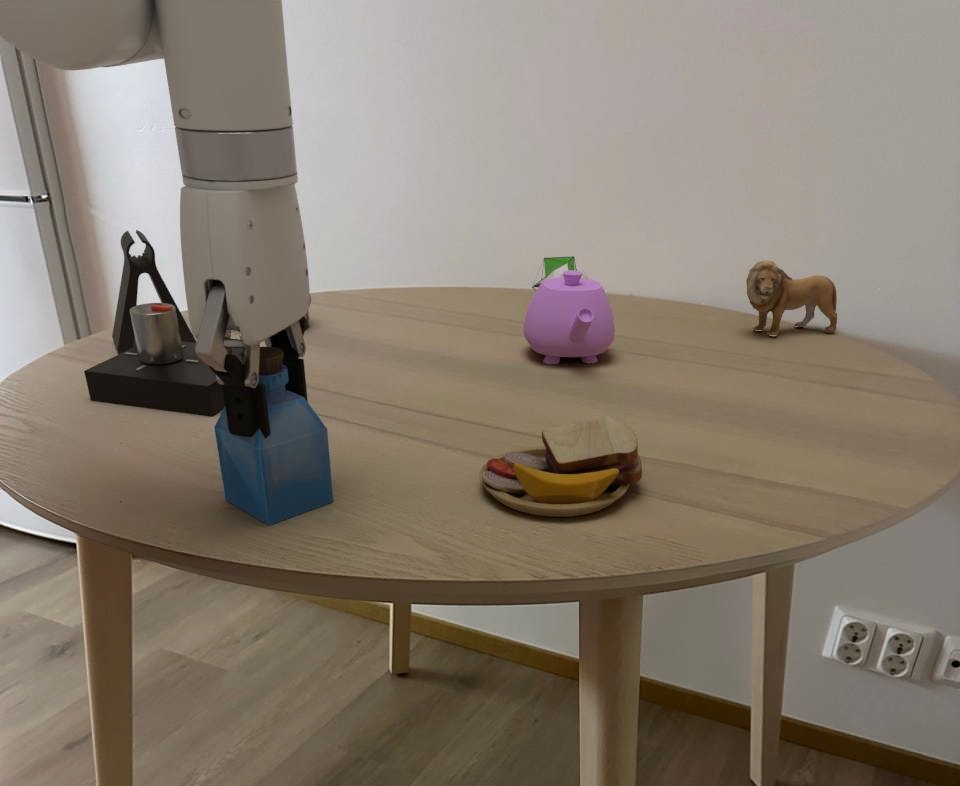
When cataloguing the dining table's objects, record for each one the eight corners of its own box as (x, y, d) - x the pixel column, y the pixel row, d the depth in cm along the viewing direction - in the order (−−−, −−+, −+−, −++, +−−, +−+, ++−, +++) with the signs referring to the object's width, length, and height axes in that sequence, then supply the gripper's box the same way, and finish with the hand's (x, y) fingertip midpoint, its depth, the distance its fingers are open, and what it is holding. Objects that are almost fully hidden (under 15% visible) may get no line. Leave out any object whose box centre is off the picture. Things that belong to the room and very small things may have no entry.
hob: (90, 400, 94) (83, 369, 92) (157, 365, 103) (152, 336, 101) (212, 416, 90) (207, 384, 89) (270, 378, 100) (267, 349, 98)
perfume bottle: (289, 478, 79) (273, 335, 72) (333, 501, 75) (320, 353, 68) (225, 500, 75) (202, 352, 68) (268, 525, 71) (249, 371, 65)
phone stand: (189, 332, 114) (172, 227, 107) (197, 346, 109) (180, 237, 102) (112, 340, 111) (90, 232, 104) (117, 354, 106) (94, 242, 99)
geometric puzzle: (524, 283, 128) (536, 241, 120) (571, 281, 129) (586, 239, 122) (535, 326, 125) (548, 286, 118) (582, 323, 127) (598, 283, 119)
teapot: (598, 338, 114) (605, 258, 109) (627, 377, 102) (636, 289, 96) (515, 339, 113) (518, 258, 108) (534, 379, 101) (538, 290, 95)
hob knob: (130, 362, 94) (119, 308, 91) (155, 349, 98) (145, 298, 95) (168, 366, 93) (158, 312, 90) (191, 354, 97) (183, 301, 94)
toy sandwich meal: (477, 458, 83) (478, 407, 80) (628, 459, 83) (633, 408, 80) (480, 522, 72) (481, 465, 69) (652, 522, 72) (659, 466, 70)
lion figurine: (752, 344, 113) (766, 266, 108) (727, 332, 117) (739, 257, 112) (848, 332, 117) (866, 257, 112) (820, 321, 121) (836, 248, 116)
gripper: (251, 142, 69) (278, 381, 79) (110, 172, 55) (164, 456, 65) (343, 146, 67) (359, 391, 77) (221, 179, 53) (260, 470, 63)
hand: (269, 418), depth 71 cm, fingers closed on perfume bottle, 5 cm apart
